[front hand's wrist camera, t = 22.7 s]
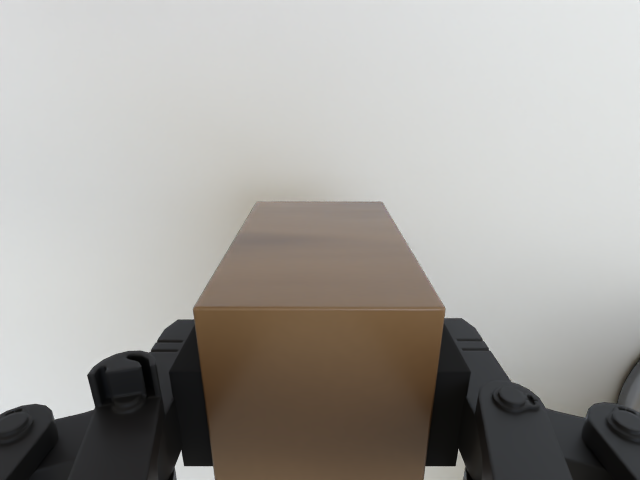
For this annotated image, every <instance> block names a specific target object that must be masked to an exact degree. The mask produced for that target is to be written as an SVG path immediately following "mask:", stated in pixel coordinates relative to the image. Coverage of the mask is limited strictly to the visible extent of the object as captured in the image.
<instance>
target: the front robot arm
mask: <svg viewBox="0 0 640 480" xmlns="http://www.w3.org/2000/svg"><path fill="white" fill-rule="evenodd" d="M87 376H88V380H89V384H90V388H91V392H92V396H93V400H94V404H95V409H94V410H92V411H89V412H85V413H81V414H77V415H73V416H68V417H64V418H60V419H55V420H54V417H53V413H52V410H50V409H49V408H48V407H47V406H45V405H39V404H31V405H24V406H20V407H17V408H14V409H11V410H8V411H6V412H4V413H2V414H0V480H177V479H176V472H175V464H176V462H177V459H178V457H179V454H180V452H181V450H182V456H183V462H184V466H213V460H212V453H211V445H210V437H209V429H208V422H207V414H206V406H205V399H204V391H203V383H202V375H201V368H200V360H199V352H198V344H197V337H196V329H195V321H194V320H177V321H175V322H174V323H173V324H171V325H170V326H169V327H167V328H166V329H165V330H164V331H163V333H162V334H161V336H160V337H159V339H158V340H157V343H155V345H154V346H153V348H152V349H151V352H149V353H148V352H144V351H127V352H123V353H118V354H115V355H113V356H111V357H108V358H106V359H104V360H102V361H101V362H100V363H98V364H97V365H95V366H94V367H93V368H92V370H91V371H90V372H89V374H88V375H87ZM458 448H459V451H460V453H461V456H462V458H463V461H464V463H465V466H466V467H465V472H464V478H463V480H640V360H639V361H638V363H637V364H636V365H635V367H634V368H633V369H632V371H631V373H630V374H629V376H628V377H627V379H626V381H625V383H624V385H623V387H622V390H621V392H620V395H619V399H618V403H617V404H614V403H606V402H603V403H597V404H594V405H592V406H591V407H590V408H589V409H588V412H587V415H586V418H583V417H578V416H574V415H570V414H565V413H561V412H557V411H553V410H550V409H547V408H545V406H544V405H543V403H542V402H541V400H540V399H539V397H537V396H536V395H535V394H534V393H533V392H531V391H530V390H529V389H527V388H525V387H523V386H521V385H519V384H516V383H512V382H511V381H510V379H509V378H508V376H507V375H506V373H505V372H504V370H503V369H502V367H501V366H500V364H499V363H498V361H497V360H496V358H495V357H494V356H493V354H492V353H491V351H489V348H488V347H487V345H486V344H485V342H484V341H483V339H482V338H481V336H480V335H479V333H478V332H477V330H476V329H475V328H474V327H473V326H472V325H470V324H469V323H467V322H466V321H465V320H463V319H462V318H444V324H443V332H442V340H441V347H440V355H439V363H438V371H437V379H436V386H435V394H434V402H433V410H432V418H431V425H430V433H429V441H428V449H427V457H426V464H425V466H456V460H457V454H458Z"/></svg>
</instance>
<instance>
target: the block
mask: <svg viewBox="0 0 640 480" xmlns="http://www.w3.org/2000/svg"><path fill="white" fill-rule="evenodd" d="M193 313H194V321H195V329H196V337H197V344H198V352H199V360H200V368H201V375H202V383H203V391H204V399H205V406H206V414H207V422H208V429H209V437H210V445H211V453H212V460H213V468H214V476H215V480H424V472H425V464H426V457H427V449H428V441H429V433H430V425H431V418H432V410H433V402H434V394H435V386H436V379H437V371H438V363H439V355H440V347H441V340H442V332H443V324H444V316H445V307H444V305H443V303H442V302H441V300H440V298H439V297H438V295H437V293H436V292H435V290H434V288H433V287H432V285H431V283H430V282H429V280H428V278H427V276H426V275H425V273H424V271H423V270H422V268H421V266H420V265H419V263H418V261H417V260H416V258H415V256H414V255H413V253H412V251H411V250H410V248H409V246H408V244H407V243H406V241H405V239H404V238H403V236H402V234H401V233H400V231H399V229H398V228H397V226H396V224H395V223H394V221H393V219H392V218H391V216H390V214H389V212H388V211H387V209H386V207H385V206H384V204H383V202H256V204H255V205H254V207H253V209H252V210H251V212H250V214H249V215H248V217H247V219H246V220H245V222H244V224H243V225H242V227H241V229H240V230H239V232H238V234H237V235H236V237H235V239H234V241H233V242H232V244H231V246H230V247H229V249H228V251H227V252H226V254H225V256H224V257H223V259H222V261H221V262H220V264H219V266H218V267H217V269H216V271H215V272H214V274H213V276H212V277H211V279H210V281H209V282H208V284H207V286H206V287H205V289H204V291H203V292H202V294H201V296H200V297H199V299H198V301H197V302H196V304H195V306H194V308H193Z"/></svg>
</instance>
